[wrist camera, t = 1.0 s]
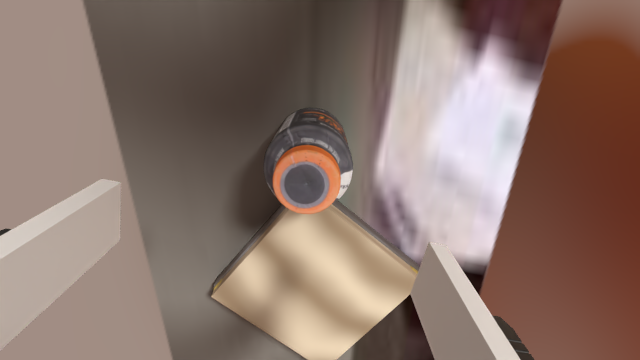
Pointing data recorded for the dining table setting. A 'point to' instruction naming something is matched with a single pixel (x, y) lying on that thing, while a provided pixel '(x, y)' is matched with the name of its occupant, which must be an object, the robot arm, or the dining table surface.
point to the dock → (316, 280)
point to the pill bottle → (308, 161)
